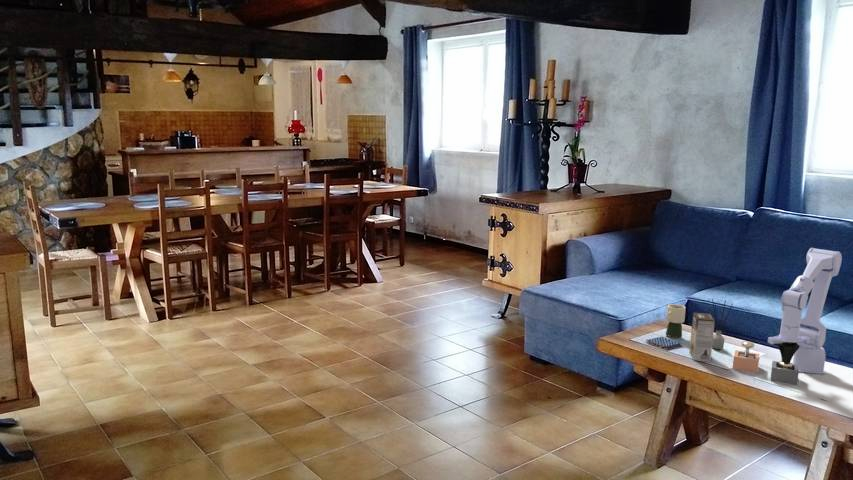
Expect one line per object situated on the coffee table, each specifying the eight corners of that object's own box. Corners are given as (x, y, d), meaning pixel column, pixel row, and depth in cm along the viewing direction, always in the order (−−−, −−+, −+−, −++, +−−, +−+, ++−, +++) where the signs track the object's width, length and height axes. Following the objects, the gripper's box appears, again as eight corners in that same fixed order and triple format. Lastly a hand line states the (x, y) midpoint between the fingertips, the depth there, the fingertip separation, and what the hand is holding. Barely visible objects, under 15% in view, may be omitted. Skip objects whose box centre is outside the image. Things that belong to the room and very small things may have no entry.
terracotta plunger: (754, 357, 242) (755, 342, 241) (753, 360, 238) (755, 346, 237) (739, 354, 244) (741, 340, 243) (738, 358, 240) (740, 343, 239)
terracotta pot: (757, 366, 243) (759, 354, 243) (757, 373, 236) (758, 360, 236) (733, 362, 247) (735, 350, 246) (732, 368, 240) (734, 356, 239)
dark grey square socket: (796, 378, 233) (798, 365, 232) (797, 385, 226) (798, 372, 225) (770, 373, 237) (772, 360, 236) (770, 380, 230) (772, 367, 229)
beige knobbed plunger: (791, 377, 232) (793, 362, 231) (791, 381, 228) (793, 366, 227) (776, 374, 234) (777, 359, 233) (775, 378, 230) (777, 363, 229)
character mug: (674, 332, 282) (676, 302, 280) (689, 337, 276) (692, 306, 274) (658, 336, 276) (661, 305, 273) (673, 341, 270) (676, 310, 268)
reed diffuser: (731, 350, 260) (736, 301, 257) (721, 354, 256) (727, 303, 253) (706, 343, 268) (711, 295, 265) (697, 346, 264) (702, 297, 261)
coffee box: (688, 352, 257) (692, 312, 254) (706, 354, 256) (710, 313, 253) (692, 360, 248) (697, 318, 245) (711, 362, 247) (715, 320, 244)
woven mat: (661, 340, 272) (661, 335, 272) (683, 347, 264) (683, 343, 263) (643, 343, 267) (644, 339, 267) (666, 351, 258) (666, 346, 258)
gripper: (800, 321, 233) (796, 358, 235) (763, 322, 231) (759, 359, 233) (815, 327, 226) (810, 365, 229) (777, 328, 224) (772, 366, 226)
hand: (785, 363), depth 230 cm, fingers closed, pressing on beige knobbed plunger
